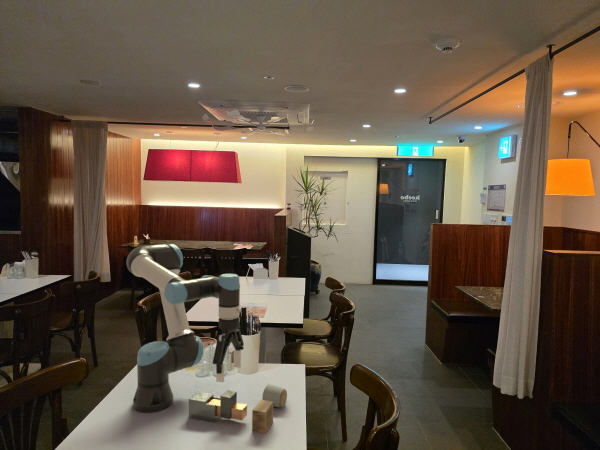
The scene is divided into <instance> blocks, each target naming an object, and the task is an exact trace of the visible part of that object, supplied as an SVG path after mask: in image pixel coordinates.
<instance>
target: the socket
mask: <svg viewBox="0 0 600 450" xmlns="http://www.w3.org/2000/svg"><path fill="white" fill-rule="evenodd" d="M251 411H252V414H251V415H252V416H251V417H252V418H251V419H252V420H251V426H252V427H251V432H255V433H259V434H266V433H267V431H268V430H269V428H270V426H272V424H273V423H274V406H273V402H272V401H266V400H262V399H260V400H259V402H258V403H257V404H256V405H255V406H254V407H253V408H252V410H251Z"/></svg>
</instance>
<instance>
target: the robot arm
mask: <svg viewBox="0 0 600 450" xmlns="http://www.w3.org/2000/svg"><path fill="white" fill-rule="evenodd" d="M183 261H184V256H183V253H182V251H181V249H180V247H178V246H177V245H176V244H174V243H161V244H160V243H159V244H152V245H139V246H138V247H135V248H133V249H132V250H131V251H130V252H129V254H128V255H127V257H126V266H127V267H126V268H127V269H128V271H129V272H130V273H131V274H133V276H135V277H139V278H143V279H145V280H146V281H147V282H149V283H150V284H152V285H153V286H155V287H156V288H158V290H159V293H160V298H161V304H162V308H163V313H164V317H165V322H166V327H167V328H166V329H167V332H168V336H167V338H166V341H164V340H158V341H156V340H155V341H152V342H151V341H150V342H148V343H146V344H144V345H142V346H141V347H140V348H139V350H138V351H137V356H136V357H137V358H136V364H137V365H136V366H137V387H136V390H135V394H134V397H133V399H132V407H133V409H134V410H136V411H137V412H139V413H155V412H160V411H162V410H165V409H167V408H168V407H170V406H172V404H173V403H174V393H173V391H172V389H171V385H170V382H169V379H170V378H169V377H170V376H169V375H170V374H172V373H174V372H175V373H176V372H178V371H183V370H185V369H189V368H192V367H193V366H196V365H198V364H200V363H201V361H202V360H203V357H204V343H203V340H202V339H201V338H200V336H197V335H196V334H195V331H193V330H192V329H190V325H189V320H188V316H187V312H186V308H185V303H186V302H191V301H192V302H193V301H197V300H203V299H207V298H216V299H218V317H219V318H218V328H219V329H220V330H221V334H218V335H217V336H216V345H215V350H214V354H213V359H212V365H216V367H215V368H216V371H215V373H216V374H215V375H216V376H215V379H216V382H219V383H225V363H224V361H225V358H226V355H227V350H228V347H230V345H232V346H233V348H234V349H233V367H234V368H242V351H243V350H244V340H243V335H242V332H241V325H240V317H239V316H240V312H241V309H240V300H241V299H240V298H241V297H240V295H241V294H240V292H241V290H240V289H241V285H240V284H241V283H240V276H239V275H238V274H236V273H223V274H220V275H219V276H215V275H207V274H205V275H202V276H201V277H200V278H192V279H184V278H182V277H181V276H179V274H180V272H181V268H182V266H183V264H184V263H183Z"/></svg>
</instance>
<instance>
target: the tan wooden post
mask: <svg viewBox="0 0 600 450" xmlns="http://www.w3.org/2000/svg"><path fill="white" fill-rule="evenodd" d="M237 396H238V392H237V391H236V390H229V389H227V390H225V391H224V392H223V393H222V394H221V395H220V396H219V397H220V400H217V399H210V400H209V401H208V402H206V403H209V404H215V405H216V416H220V418H222V419H227V420H237V421H243V420H244V419H246V417H247V416H248V404H245V403H239V402H237V400H238V399H237ZM220 418H219V419H220Z"/></svg>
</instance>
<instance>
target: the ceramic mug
mask: <svg viewBox="0 0 600 450" xmlns="http://www.w3.org/2000/svg"><path fill="white" fill-rule="evenodd" d="M287 397H288V392H287V390H286V388H283V387H281V386H276V385H274V384H273V385H272V384H268V383H267V384H266V385H265V387H264V389H263V392H262V399H261V400H266V401H272V402H273V407H275V408H283V407H284V406H285V405H286V403H287V402H286V401H287V399H288V398H287Z"/></svg>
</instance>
